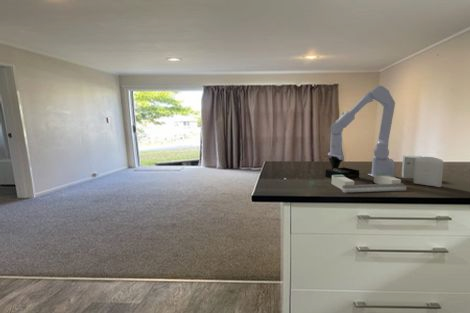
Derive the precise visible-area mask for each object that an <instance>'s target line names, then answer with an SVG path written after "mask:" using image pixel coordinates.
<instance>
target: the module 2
mask: <svg viewBox="0 0 470 313" xmlns="http://www.w3.org/2000/svg"><path fill="white" fill-rule="evenodd" d="M373 183H374V184H400V183H402V180H401V179H400V178H397V177H395V178H394V177H391V176H388V174H385V173H379V174H374V177H373Z"/></svg>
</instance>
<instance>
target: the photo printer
mask: <svg viewBox="0 0 470 313" xmlns="http://www.w3.org/2000/svg"><path fill="white" fill-rule="evenodd" d="M443 172H444V160H443V159H441V158H438V157H435V156H434V157H433V156H422V157H419V158H416V160H415V168H414V179H413V184H416V185H422V186H430V187H435V188H441V187H442V184H443Z"/></svg>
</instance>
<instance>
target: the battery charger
mask: <svg viewBox="0 0 470 313" xmlns="http://www.w3.org/2000/svg"><path fill="white" fill-rule="evenodd" d="M332 175H344V176H345V177H346V178H348V179H351V180H353V179H359V178H360V170H359V169H356V168H355V169H354V168H348V167H345V166H343V167H338V168H334V169H332V168H329V169H327V168H326V169H325V175H324V176H325V177H326V178H329V179H332ZM352 178H353V179H352Z"/></svg>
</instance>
